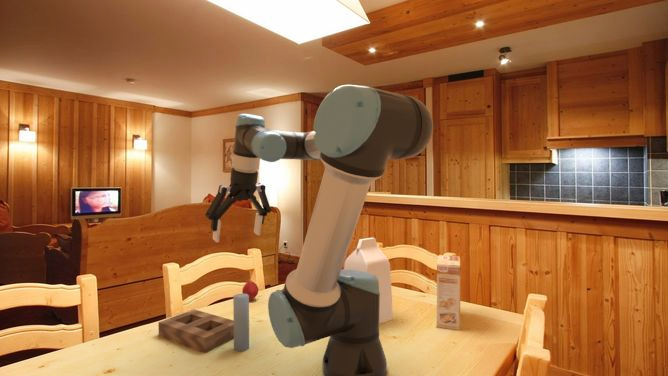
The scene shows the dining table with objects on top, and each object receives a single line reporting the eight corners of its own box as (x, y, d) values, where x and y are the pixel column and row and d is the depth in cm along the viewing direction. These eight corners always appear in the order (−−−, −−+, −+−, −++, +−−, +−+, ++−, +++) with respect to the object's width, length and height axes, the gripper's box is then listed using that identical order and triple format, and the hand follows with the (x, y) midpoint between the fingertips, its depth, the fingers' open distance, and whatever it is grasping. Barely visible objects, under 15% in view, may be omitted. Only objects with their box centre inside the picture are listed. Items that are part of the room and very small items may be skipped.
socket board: (239, 335, 103) (239, 322, 102) (205, 353, 92) (204, 337, 92) (194, 321, 113) (193, 309, 113) (158, 335, 103) (158, 322, 103)
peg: (252, 346, 96) (252, 295, 96) (241, 352, 92) (241, 299, 92) (241, 343, 98) (241, 292, 98) (230, 349, 95) (230, 296, 94)
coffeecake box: (460, 330, 106) (460, 265, 106) (435, 327, 108) (435, 263, 108) (459, 313, 120) (460, 255, 120) (437, 310, 122) (438, 254, 122)
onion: (241, 299, 134) (241, 278, 134) (256, 297, 137) (256, 276, 137) (244, 304, 129) (244, 282, 129) (259, 301, 132) (259, 280, 131)
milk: (366, 328, 107) (366, 243, 107) (341, 317, 116) (341, 238, 116) (393, 318, 115) (393, 239, 115) (368, 309, 124) (368, 234, 123)
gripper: (274, 165, 113) (265, 226, 118) (196, 166, 96) (190, 238, 101) (288, 171, 108) (278, 235, 113) (208, 173, 90) (201, 249, 96)
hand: (237, 237), depth 107 cm, fingers open, 13 cm apart
